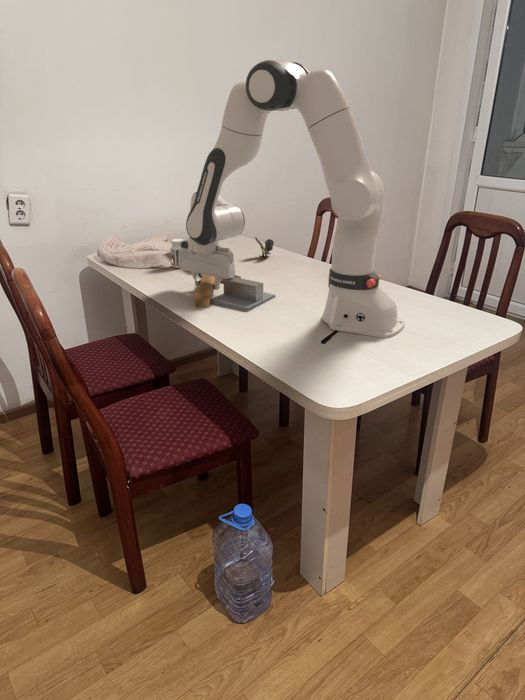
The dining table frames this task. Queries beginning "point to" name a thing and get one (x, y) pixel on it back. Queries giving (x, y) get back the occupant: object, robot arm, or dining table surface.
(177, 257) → the pill bottle
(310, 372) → the dining table surface
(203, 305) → the wood batten
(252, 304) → the ridge board
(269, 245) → the eagle figurine
